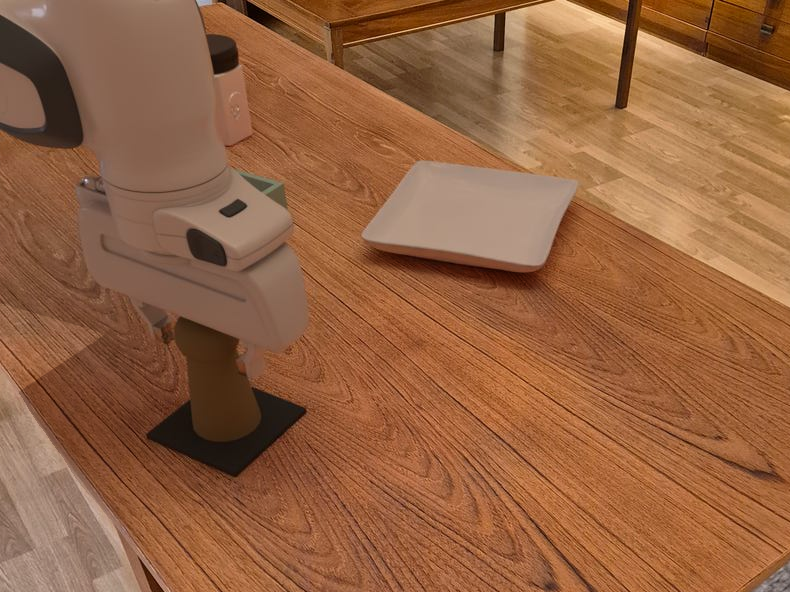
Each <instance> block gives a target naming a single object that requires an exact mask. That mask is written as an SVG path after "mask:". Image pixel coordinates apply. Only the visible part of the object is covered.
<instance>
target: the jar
mask: <svg viewBox="0 0 790 592" xmlns="http://www.w3.org/2000/svg"><path fill="white" fill-rule="evenodd" d="M206 39H207V43H208V48H209V52H210V57H211V62H212V67H213V72H214V78H215V83H216V89H217V96H218V105H217V113H216V123H217V129H218V132H219V135H220V137H221V140H222V141H223V143H224V145H225V147H232V146H234V145H236V144H237V143H240V142H242V141H243V140H245V139H247V138H249V137H251V136H253V133H254V132H253V127H252V119H251V113H250V107H249V102H248V101H249V100H248V94H247V90H246V83H245V75H244V69H243V66H242V64H240V58H239V55H240V54H239V49H238V47H237V46H238V45H237V42H236V40H235V39H233V38H232V37H230V36H227V35H223V34H216V33H215V34H214V33H206Z"/></svg>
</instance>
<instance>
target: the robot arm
mask: <svg viewBox="0 0 790 592" xmlns="http://www.w3.org/2000/svg"><path fill="white" fill-rule="evenodd" d="M206 34H207V30H206V25H205V20H204V17H203V14H202V10H201V7H200V6H199V4H198V2H197V0H0V130H1V131H2V132H4V133H5V134H7V135H8V136H11V137H13V138H15V139H17V140H19V141H22V142H24V143H27V144H30V145H34V146H38V147H43V148H49V149H62V150H67V149H68V150H70V149H76V148H79V147H81V148H87V149H89V150H90V151H92V153H94V154H95V156H96V158H97V161H98V168H99V174H100V176H99V175H97V174H92V173H91V174H90V173H88V174H85V175H84V176H83V177H82V178H79V180H78V181H77V183H76V185H75V187H74V193H75V196H76V199H77V203H78V205H79V209H78V211H77V228H78V234H79V239H80V244H81V250H82V254H83V257H84V261H85V265H86V268H87V271H88V273H89V274H90V276H91V277H92V279H93V280H94V281H95V283H97V284H98V285H99V286H101V287H103V288H106V289H108V290H111V291H114V292H116V293H119V294H122V295H124V296H127V297H128V298H129V300H130V304H131V306H132V307H133V308H134V309H135V311H136V312H137V314H138V315H139V317H140V318H141V319H142V320H143V322H144V323H145V324H146V325H147V328H148V331H149V335H150V338H151V340H153V341H156V342H159V343H161V344H164V345H169V344H171V342H172V341H175V338H174V327H175V325H176V322H177V320H176V318H174V317H171V316H169V315H168V313H171V314H173V315H175V316H179V317H180V316H181V317H183V318H186V319H189V320H191V321H194V322H196V323H199V324H202V325H204V326H207V327H209V328H212V329H214V330H217V331H220V332H222V333H225V334H227V335H230V336H233V337H235V338H238V339H239V341H240V344H241V346H242V348H243V349H246V350H245V351H243V354H239V357H237V358H236V365H237V367H238V368H239V369H238V373H239V374H241V375H243V376H245V377H247V378H248V379H250V380H252V381H255V380H257V379H258V378H260V377H261V376H262V375H263V374H265V372H266V367H267V366H266V361H265V360H266V359H265V354H266V352H267V351H268V352H271V353H274V354H280V353H282V352H284V351H285V350H286V349H288V348H289V347H290V346H292V345H293V344H295V343H296V342H297V341H298V340H299V339H300V338H301V337H302V336H304V334H305V333H306V332H307V330H308V329H309V325H310V311H309V301H308V296H307V289H306V283H305V278H304V273H303V269H302V266H301V263H300V260H299V258H298V256H297V254H296V252H295V250H294V249H293V248H292V247H291V246H290V245H289V244H288V243H287V242H286V241H287V240H288V239H290V238H291V237H292V236H293V234H294V232H295V226H294V219H293V216H292V214H291V212H290V211H287V210H286V209H285V208H284V207H282V206H281V205H279V204H278V203H276V202H275V201H273V200H272V199H270V198H269V197H267V196H266V195H265V194H263V193H262V192H260V191H259V190H258V189H256V188H255V187H254V186H252V185H251V184H250V183H249V182H248V181H246V180H245V179H244V178H243V177H242V176H241V175H240V174H239V173H237V172H236V171H234V170H233V169H234V168H233V169H230V168H231V165H230V159H229V155H228V151H227V147H226V146H225V145H224V143H223V141H222V140H221V137H220V135H219V132H218V129H217V123H216V113H217V105H218V96H217V89H216V83H215V78H214V72H213V67H212V62H211V57H210V52H209V48H208V43H207V39H206ZM167 312H168V313H167Z"/></svg>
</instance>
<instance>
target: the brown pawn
mask: <svg viewBox="0 0 790 592" xmlns="http://www.w3.org/2000/svg"><path fill="white" fill-rule="evenodd" d="M174 338H175V340H174V342H175V345H176V347H177V348H178V350H179V352H180V353H181V354H182V355H183V356H184V357H185V359H186V368H187V379H188V380H187V381H188V388H189V390H188V391H189V400H190V401H191V412H192V422H193V429H194V431H195V432H196V433H197V435H199V436H200V437H202V438H204V439H206V440H210V441H214V442H227V441H232V440H237V439H240V438H242V437H244V436H247V435H248V434H250V433H251V432H252V431H254V430H255V429H256V427H257V426H258V425H259V424H260V420H261V413H260V409H259V407H258V404H257V401H256V399H255V396H254V393H253V391H252V388H251V387H252V386H251V383H250V380H249V378H247V377H245V376H243V375H241V374H239V373H238V369H239V368H238V367H237V365H236V358H237V357H239V356H240V354H239V351H238V346H239V342H240V339H238V338H235V337H233V336H230V335H227V334H225V333H222V332H220V331H217V330H214V329H212V328H209V327H207V326H204V325H202V324H199V323H196V322H194V321H191V320H189V319H186V318H183V317H181V316H179V317H178V318H177V320H176V325H175V327H174Z"/></svg>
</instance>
